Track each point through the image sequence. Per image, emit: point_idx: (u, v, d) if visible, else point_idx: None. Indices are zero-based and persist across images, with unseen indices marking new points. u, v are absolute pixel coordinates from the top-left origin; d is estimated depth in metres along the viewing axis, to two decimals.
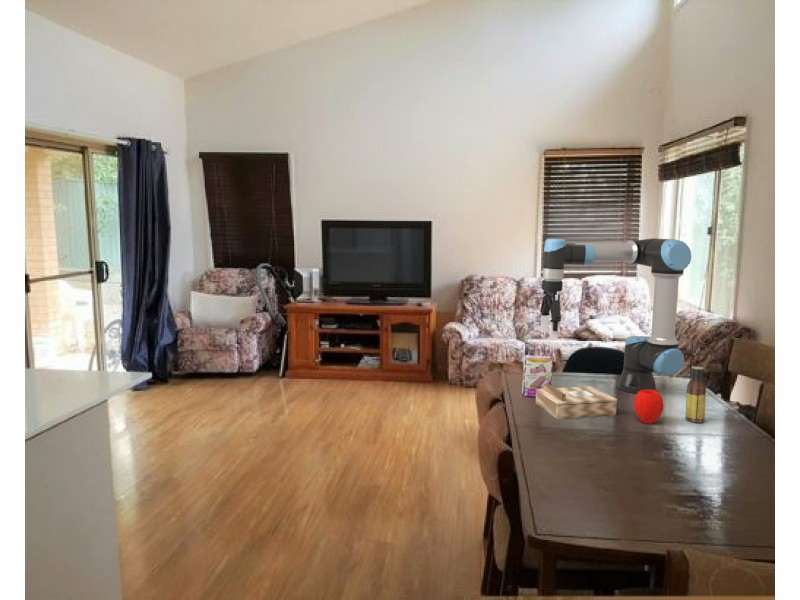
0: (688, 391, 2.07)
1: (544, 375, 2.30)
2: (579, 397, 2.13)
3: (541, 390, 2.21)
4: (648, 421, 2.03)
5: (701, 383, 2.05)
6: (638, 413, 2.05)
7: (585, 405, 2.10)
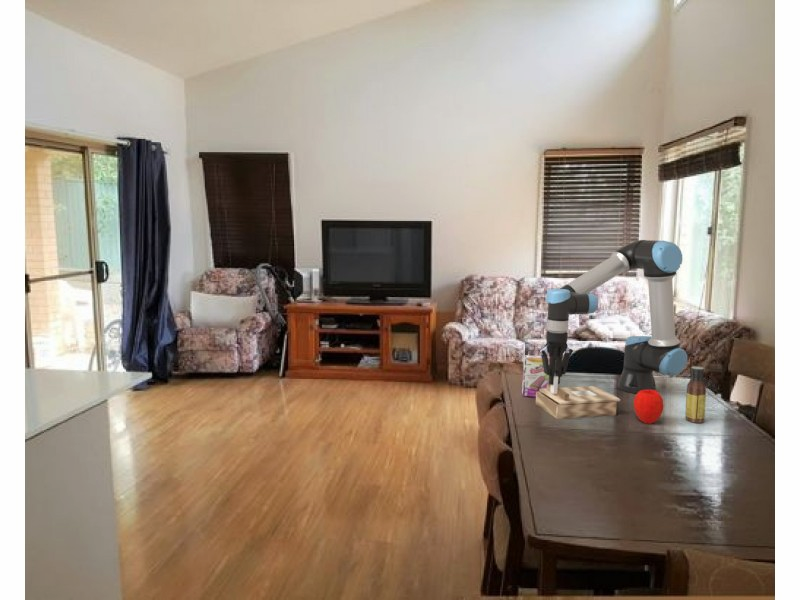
0: (688, 391, 2.07)
1: (544, 375, 2.30)
2: (582, 397, 2.14)
3: (544, 390, 2.22)
4: (648, 421, 2.03)
5: (701, 383, 2.05)
6: (638, 413, 2.05)
7: (585, 405, 2.10)
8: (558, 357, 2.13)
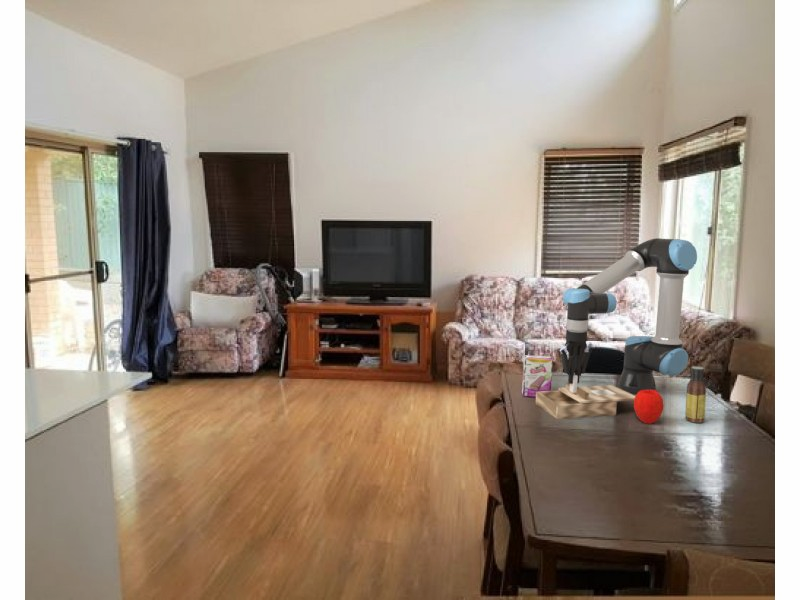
0: (688, 391, 2.07)
1: (544, 375, 2.30)
2: (601, 396, 2.16)
3: (563, 389, 2.23)
4: (648, 421, 2.03)
5: (701, 383, 2.05)
6: (638, 413, 2.05)
7: (585, 405, 2.10)
8: (577, 356, 2.15)
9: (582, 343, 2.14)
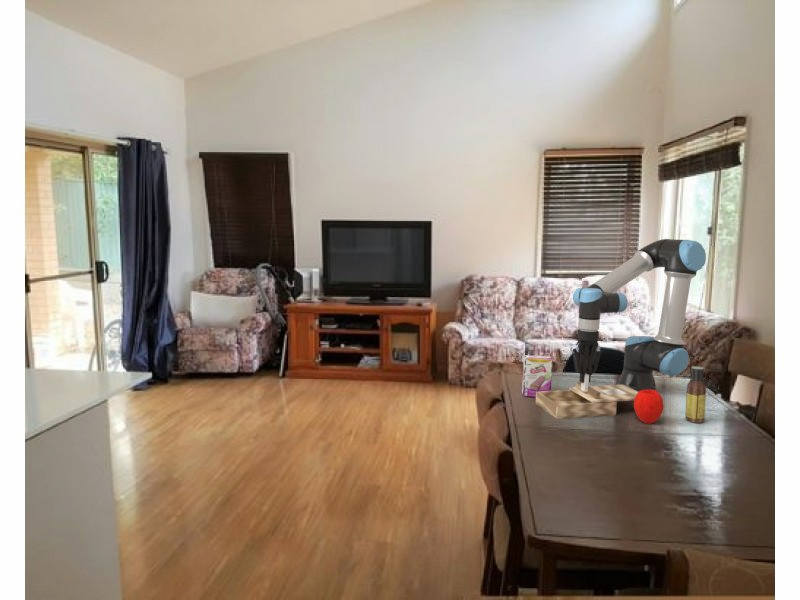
0: (688, 391, 2.07)
1: (544, 375, 2.30)
2: (613, 395, 2.17)
3: (574, 388, 2.24)
4: (648, 421, 2.03)
5: (701, 383, 2.05)
6: (638, 413, 2.05)
7: (585, 405, 2.10)
8: (589, 355, 2.16)
9: (594, 342, 2.15)
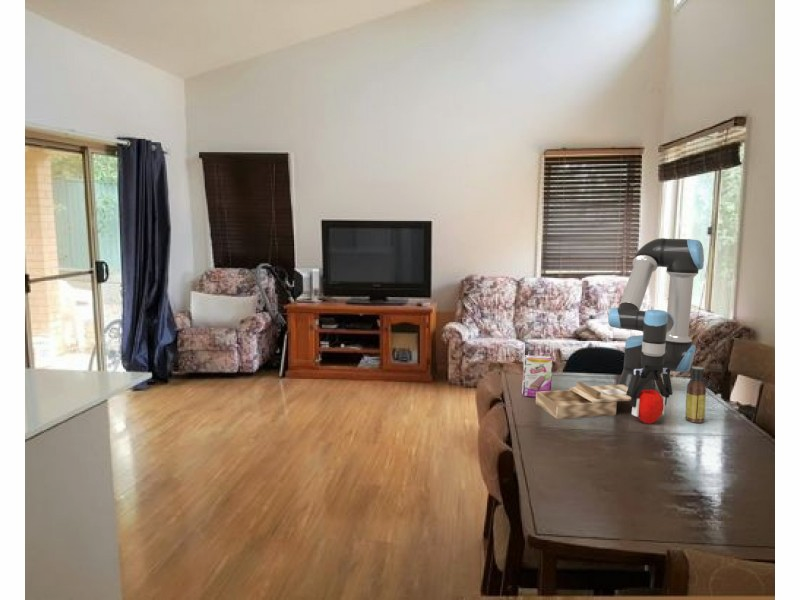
0: (688, 391, 2.07)
1: (544, 375, 2.30)
2: (613, 395, 2.17)
3: (574, 388, 2.25)
4: (648, 421, 2.03)
5: (701, 383, 2.05)
6: (638, 413, 2.05)
7: (585, 405, 2.10)
8: (657, 380, 2.05)
9: (657, 369, 2.03)
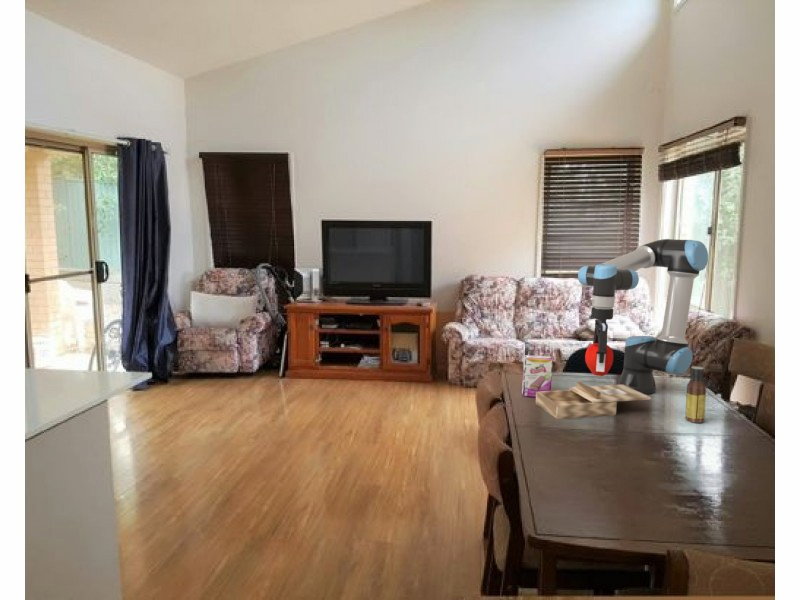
0: (688, 391, 2.07)
1: (544, 375, 2.30)
2: (613, 395, 2.17)
3: (574, 388, 2.25)
4: (606, 373, 2.09)
5: (701, 383, 2.05)
6: None
7: (585, 405, 2.10)
8: None
9: None
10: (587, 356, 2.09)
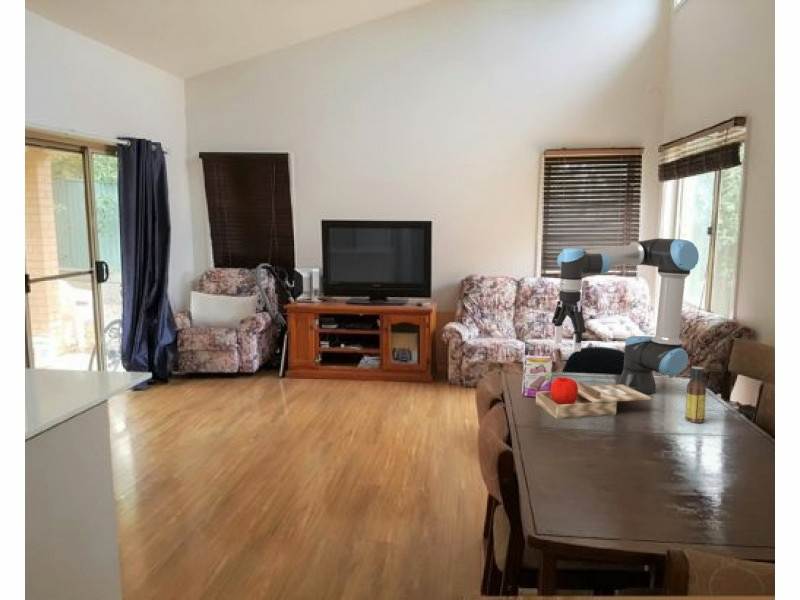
0: (688, 391, 2.07)
1: (544, 375, 2.30)
2: (613, 395, 2.17)
3: None
4: None
5: (701, 383, 2.05)
6: (571, 402, 2.13)
7: (585, 405, 2.10)
8: None
9: None
10: (555, 392, 2.13)
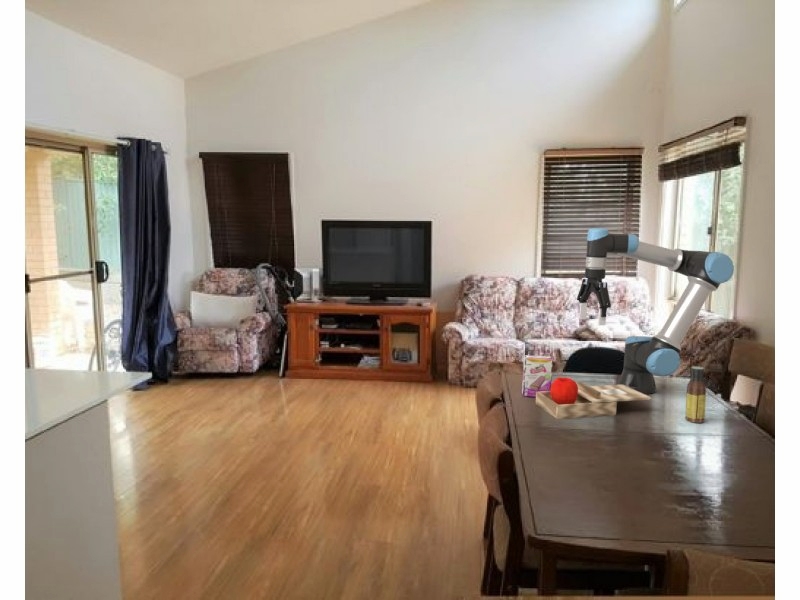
0: (688, 391, 2.07)
1: (544, 375, 2.30)
2: (613, 395, 2.17)
3: None
4: None
5: (701, 383, 2.05)
6: (571, 402, 2.13)
7: (585, 405, 2.10)
8: None
9: None
10: (555, 392, 2.13)
